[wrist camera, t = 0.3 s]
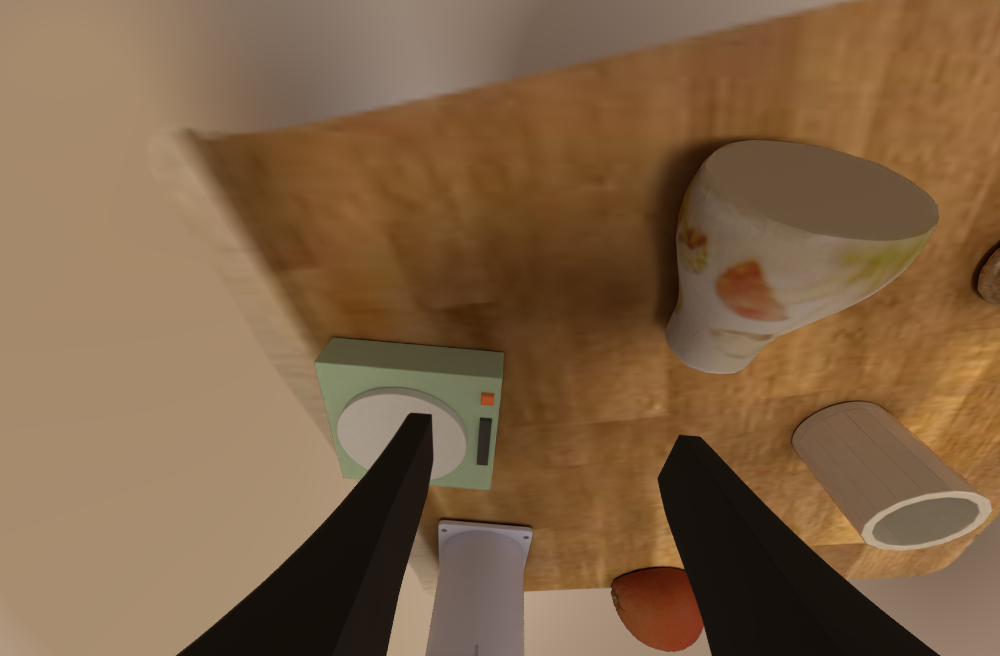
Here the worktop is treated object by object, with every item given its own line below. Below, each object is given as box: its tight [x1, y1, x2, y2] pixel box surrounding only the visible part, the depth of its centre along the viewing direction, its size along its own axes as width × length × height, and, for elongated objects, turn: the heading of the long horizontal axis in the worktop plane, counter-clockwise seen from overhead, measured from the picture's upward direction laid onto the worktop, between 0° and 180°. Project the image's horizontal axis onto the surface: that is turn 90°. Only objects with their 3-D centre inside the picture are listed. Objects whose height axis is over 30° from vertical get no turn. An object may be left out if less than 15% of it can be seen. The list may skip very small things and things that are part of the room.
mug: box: [666, 140, 939, 374], centre depth 15 cm, size 8×10×10 cm
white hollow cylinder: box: [792, 401, 992, 551], centre depth 21 cm, size 5×5×6 cm
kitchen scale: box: [314, 337, 504, 490], centre depth 23 cm, size 10×10×3 cm
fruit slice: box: [611, 568, 704, 652], centre depth 34 cm, size 8×7×5 cm
